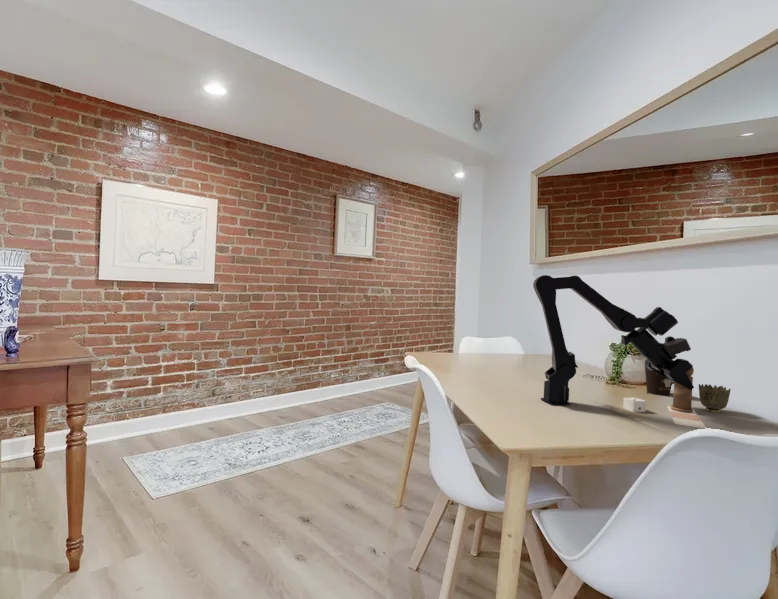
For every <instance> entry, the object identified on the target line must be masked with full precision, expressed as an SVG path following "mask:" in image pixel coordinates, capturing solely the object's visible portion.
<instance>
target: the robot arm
mask: <svg viewBox="0 0 778 599" xmlns="http://www.w3.org/2000/svg"><path fill="white" fill-rule="evenodd" d="M532 284H533V287H532V288H533V289H534V292H535V294H536V297H537V299H538V301H539V302H540V304H541V307H542V312H543V316H544V320H545V323H546V328H547V333H548V337H549V341H550V346H551V350H552V351H551V364H552V365H551V367H549V369H547V370H546V371H545V372H544V377H545V378H546V380H544V382H543V397H540V400H541V401H543V402H545V403H547V404H549V405H552V406H554V405H556V406H557V405H562V406H564V405H565V406H566V405H569V406H570V405H571V403H572V402H570V387H569V381H570V380H571V379H573V378H574V377H575V375H576V374H577V369H578V368H579V366H578V365H577V363H576V355H575V354H574V352H572V351H568V349H567V347H566V346H567V345H566V341H565V338H564V334H563V329H562V324H561V321H560V317H559V312H558V307H557V304H556V302H557V290H566V289H570V290H572V291H573V292H574V293H576V294H577V295H578V296H579V297H580V298H582V299H583V300H585V302H587V303H588V304H590V306H592V307H593V308H594V309H595V310H597V311H598V312H600V313H601V315H603V317H604V319H605V320H606V321H607V323H609V324H610V325H611V327H612V328H613V329H614V330H617V331H619V332H622V333H628V334H626V335H624V334H623V335H622V334H621V335H620V337H621V339H620V344H621V345H623V346H628V345H629V344H631V345H632V346H633V347H634V348H635V349H636V350H637V351H638V352H639V354H640V355H639V356H641V357H642V358H644V359H645V360H644V367H645V366H646V367H647V368H648V369H649V370H654V369H653V368H655V369H656V371H655V373H657V374H659V375H661V376H663V377H665V378H667V379H669V380H671V381H672V382H676V383H678V384H680V385H682V386H684V387H686V388H688V389H690V390H692V391H693V389H694V388H695V387H694V384H692V383H691V381H690V379H689V377H688V375H687V373H686V372H687V371H688V370H690V369H691V368H692V367H693V368H694V366H693V364H692V363H691V362H690V361H689V360H688V359H685V358H684V359H683V358H677V357H678V356H677V355H678V354H681V353H684V352H689V351H691V350H692V348H691V346H690V343H689V342H688V340H687V338H684V337H680V338H679V337H676V338H675V337H674V336H670V335H669V336H666V337H665V338H664V343H663V342H659V341H658V339H656V338H655V336H656V337H657V336H658V335H659V336H660V337H662V336H664V335H665V334H667V332H669V331H670V330H671V329H673V328H674V327H675V326H676V325H677V324H678V323H679V321H678V320H677V318H676V317H675V316H674V315H673V314H670V313H669V312H668V311H666V310H665V309H663V308H662V307H659V306H657V307H655V308H654V309H653V311H651V312H650V313H649V314H648V315H646V316H645V317H637V316H636V315H634V314H633V313H631V312H629V311H628V310H626V309H624V308H622V307H619V306H618V305H616V304H613V303H612V302H611V301H610V300H608V299H607V298H606V297H604V296H603V295H601V293H599V292H598V291H597V290H595V289H594V288H592V287H591V286H590V285H589V284H588V283H586V282H585V281H583V279H582V278H581V277H580V276H578V275H569V276H563V277H562V276H561V277H552V276H551V275H548V274H545V275H544V274H543V275H540V276H537V277H536V278H535V279H534V281H533V283H532ZM674 359H675V360H674ZM652 367H653V368H652Z"/></svg>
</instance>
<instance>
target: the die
mask: <svg viewBox="0 0 778 599" xmlns="http://www.w3.org/2000/svg"><path fill="white" fill-rule="evenodd" d="M622 408H623V409H625V410H627V411H630V412H633V413H641V412H642V413H645V412H646V411H647V400H644V399H641V398H638V397H623V404H622Z"/></svg>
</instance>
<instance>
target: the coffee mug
mask: <svg viewBox="0 0 778 599" xmlns="http://www.w3.org/2000/svg"><path fill="white" fill-rule="evenodd" d="M652 368H653V367H652ZM653 369H654V370H649V369H648V368H647V367H646V366H645V365H644V372H645V383H646V394H651V395H653V396H654V395H656V396H666V397H667V396H668V397H669V396H670V395H671V392H672V387H673V386H674V382H673V381H671V380H669V379H667V378H665V377H663V376H661V375H659V374H657V373H655V371H656V369H655V368H653Z"/></svg>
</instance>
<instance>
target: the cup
mask: <svg viewBox="0 0 778 599" xmlns="http://www.w3.org/2000/svg"><path fill="white" fill-rule="evenodd" d="M698 395H699V401H700V404H702V406H703V407H704V408H705V409H704V410H705V411H707V412H712V413H721V412H722V411H721V410H723V409H725V408H726V407H727V406H728V403H729V400H730V399H729V398H730V395H731V388H728V389H727V387H726V386H725V387H724V386H723V385H719V386H717V384H715V385H713V386H712V385H711V384H707V383H706V384H703V383H699V384H698Z"/></svg>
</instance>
